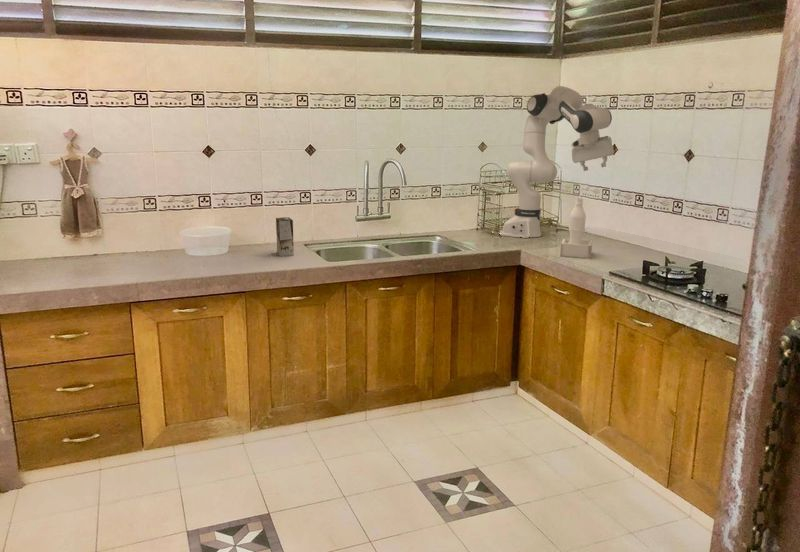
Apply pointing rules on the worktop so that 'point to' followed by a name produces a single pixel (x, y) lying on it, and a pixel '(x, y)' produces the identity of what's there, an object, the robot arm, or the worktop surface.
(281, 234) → the coffee box
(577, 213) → the water bottle
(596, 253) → the worktop surface
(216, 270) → the worktop surface
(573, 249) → the box
